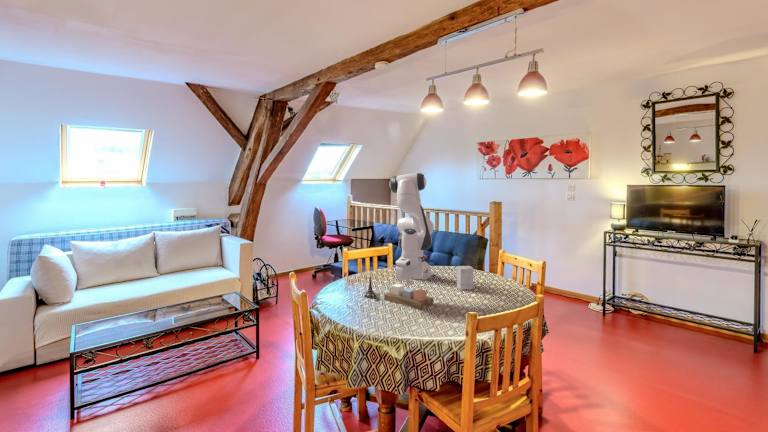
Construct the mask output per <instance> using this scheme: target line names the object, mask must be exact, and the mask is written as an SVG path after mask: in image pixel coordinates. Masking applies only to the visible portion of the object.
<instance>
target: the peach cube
mask: <svg viewBox="0 0 768 432" xmlns="http://www.w3.org/2000/svg"><path fill="white" fill-rule="evenodd" d="M414 290H415V291H414V294H413V300H416V301H420V302H423V301H425V300H427V297H428V296H427V295H428V291H427V290H425V289H420V288H417V289H414Z"/></svg>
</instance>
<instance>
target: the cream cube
mask: <svg viewBox="0 0 768 432" xmlns="http://www.w3.org/2000/svg"><path fill="white" fill-rule="evenodd" d="M390 289H391V291H390V292H391V294H394V295H397V296H399V295H402V290H404V289H405V285H404V284H400V283H395V284H391V285H390Z"/></svg>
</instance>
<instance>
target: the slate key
mask: <svg viewBox="0 0 768 432" xmlns="http://www.w3.org/2000/svg"><path fill="white" fill-rule="evenodd" d="M415 290H416V289H412V288H410V287H407V288H404V290H402V297H405V298H408V299H411V298H413V294H414V291H415Z"/></svg>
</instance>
